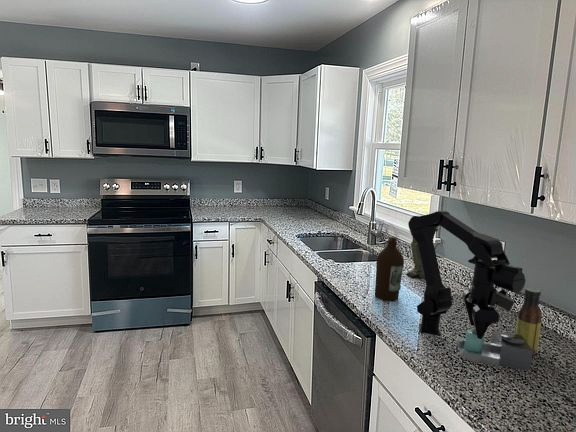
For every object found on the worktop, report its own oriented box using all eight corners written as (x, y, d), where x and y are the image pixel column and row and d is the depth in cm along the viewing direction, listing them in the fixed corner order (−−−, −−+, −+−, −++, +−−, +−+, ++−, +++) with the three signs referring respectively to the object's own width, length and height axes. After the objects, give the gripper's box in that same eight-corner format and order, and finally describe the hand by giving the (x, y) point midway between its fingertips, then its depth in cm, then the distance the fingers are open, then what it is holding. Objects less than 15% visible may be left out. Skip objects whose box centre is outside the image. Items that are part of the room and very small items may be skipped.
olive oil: (367, 294, 164) (373, 235, 160) (385, 291, 170) (391, 233, 166) (387, 303, 156) (393, 241, 151) (405, 299, 161) (412, 239, 157)
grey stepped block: (456, 343, 125) (459, 322, 124) (518, 353, 121) (521, 331, 120) (462, 359, 116) (466, 336, 115) (529, 370, 112) (533, 347, 111)
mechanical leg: (406, 277, 189) (426, 216, 186) (398, 272, 195) (417, 214, 193) (429, 283, 193) (450, 224, 190) (421, 278, 200) (440, 221, 197)
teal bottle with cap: (462, 346, 123) (465, 325, 121) (479, 349, 121) (483, 328, 120) (465, 354, 118) (468, 332, 117) (483, 357, 117) (487, 335, 116)
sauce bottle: (528, 346, 126) (537, 286, 123) (541, 356, 120) (552, 293, 117) (508, 346, 126) (517, 285, 123) (520, 356, 120) (531, 292, 117)
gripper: (524, 295, 105) (515, 351, 108) (504, 275, 123) (497, 323, 126) (479, 290, 108) (471, 344, 110) (465, 271, 126) (459, 318, 128)
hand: (476, 331), depth 118 cm, fingers open, 9 cm apart
